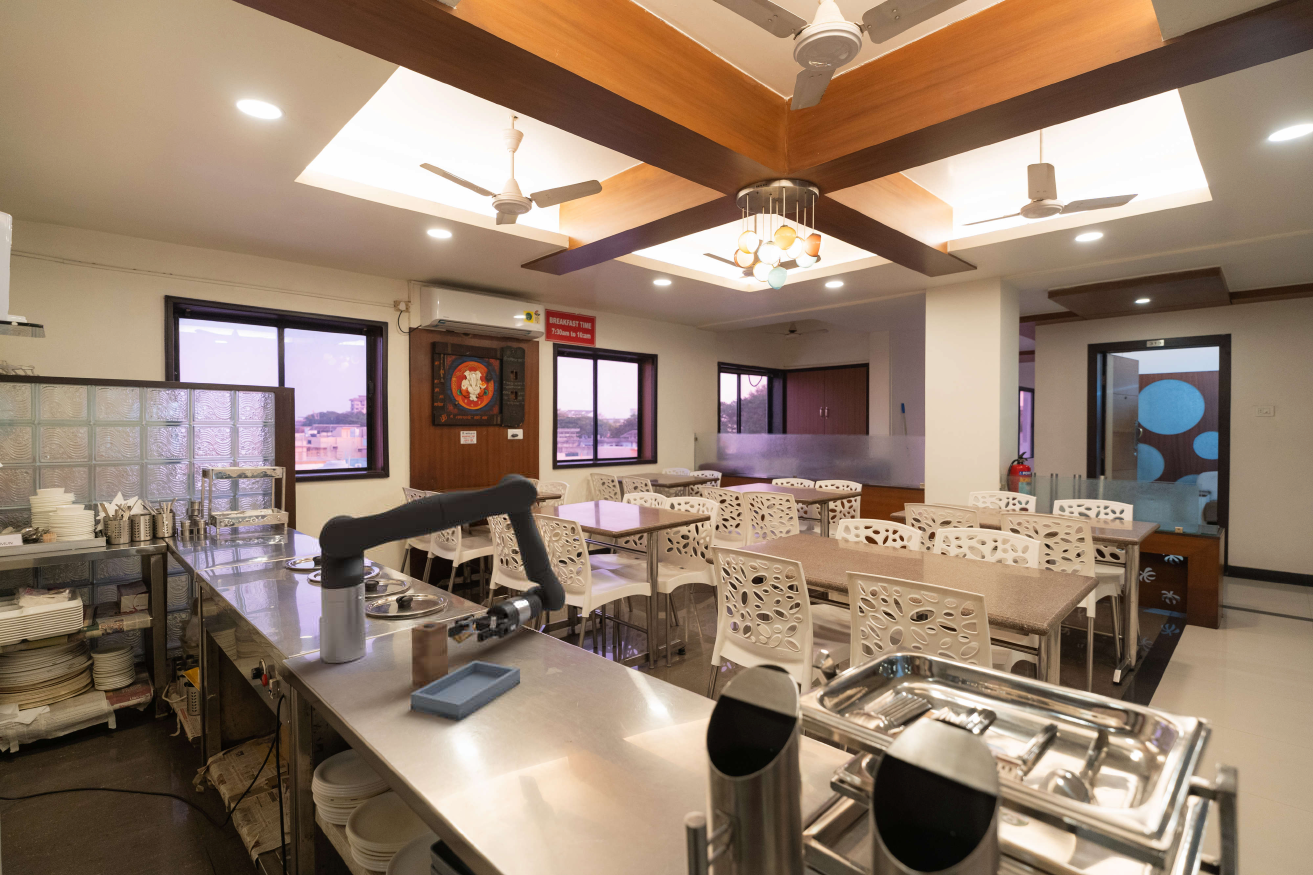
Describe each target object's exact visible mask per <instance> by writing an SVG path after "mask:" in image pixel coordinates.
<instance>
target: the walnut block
mask: <svg viewBox="0 0 1313 875" xmlns="http://www.w3.org/2000/svg"><path fill="white" fill-rule="evenodd" d="M448 647H449V646H448V623H445V622H436V621H431V620H428V621H426V622H424V623H421V624H418V625H416V626H414V627H413V626H412V627H411V662H412V664H411V665H412V666H411V668H412V675H411V676H412V677H411V678H412V685H413V686H417V687H421V688H423V687H425V686H427V685H429V684H430V683H432V682H434V681H436V680H438V679H440V678H442V677H444V676H446V675H448V674H449V664H448V663H449V661H448V660H449V657H448V656H449V654H448V652H449V651H448V650H449V649H448Z"/></svg>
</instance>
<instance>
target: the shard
mask: <svg viewBox="0 0 1313 875" xmlns="http://www.w3.org/2000/svg"><path fill="white" fill-rule="evenodd" d="M467 628H468V627H467ZM467 628H465V629H467ZM473 629H476V628H475V624H474V625H473ZM473 634H474V633H470V632H464V633H461V634H459V635H456V636H454V637H453V638H455V639H456V641H458V642H460V643H463V642H464V641H465V640H466V639H467V638H469V637H470V636H471V635H473Z"/></svg>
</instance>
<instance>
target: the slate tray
mask: <svg viewBox="0 0 1313 875" xmlns="http://www.w3.org/2000/svg"><path fill="white" fill-rule="evenodd" d="M517 684H518V685H519V684H521V669H520V668H518V667H517V668H516V667H513V666H507V665H502V664H496V663H492V662H485V661H480V660H473V661H470V662H469V663H468V664H465V665H464V666H461V667H460V668H457V669H456V670H453V671H451V672H450V673H448V675H446V676H444V677H442V678H440V679H438V680H436V681H434V682H432V683H430V684H429V685H427V686H425V687H421V688H419V689H417V690H415V691H413V692H411V693H410V710H411V711H416V712H417V711H418V712H421V713H426V714H429V715H433V716H438V717H442V718H445V719H450V720H454V721H457V722H460V721H462V720H464V719H465V718H467V717H468V716H470V715H472V714H473V713H475V712H476V711H479V710H480V709H482V707H484V706H486V705H487V704H489V703H491V702H492V701H494V700H495V699H497V698H498V696H499V697H500V696H501V694H502V695H503V694H505V693H506V692H507V691H509V689H510V690H511V689H513V688H515V687H516V686H517ZM496 697H497V698H496ZM494 698H495V699H494ZM493 699H494V700H493ZM490 701H491V702H490ZM488 702H489V703H488Z"/></svg>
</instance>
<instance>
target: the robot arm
mask: <svg viewBox="0 0 1313 875" xmlns="http://www.w3.org/2000/svg"><path fill="white" fill-rule="evenodd" d="M537 499H538V489H537V487H536V485H535V484H534V483H533V482H532V480H530V479H528V478H527V477H525V476H524V475H521V474H517V473H509V474H506V475H504V476H503V477H502V478H501V479H500V480H499V481H498V484H497V485H494V486H492V487H488V488H484V489H479V490H467V491H451V492H449V491H448V492H442V493H437V494H433V495H429V496H424V497H421V498H418V499H414V500H411V501H408V502H406V503H403V504H400V505H398V506H396V507H394V508H392V509H389V510H387V511H383V512H380V513H377V514H372V515H371V514H370V515H366V516H360V517H353V516H350V515H345V514H343V515H337V516H336V515H335V516H334V517H331V518H330V519H328V521H326V522H325V523H324V524H323V526H322V528H321V530H320V533H319V536H318V544H319V548H320V559H321V560H320V563H321V564H320V600H321V601H320V603H321V604H320V606H321V616H320V617H319V619H318V627H319V628H318V631H319V633H318V634H319V658H320V657H321V658H322V661H323V663H329V664H341V663H346V662H351V661H355V660H358V659H360V658H362V657H363V656H365V655H366V653H367V643H366V641H367V639H366V638H367V637H366V636H367V635H366V634H367V632H366V629H367V628H366V588H365V581H366V580H365V574H366V572H365V551H368V550H370V549H373V548H376V547H378V546H382V545H384V544H388V543H392V542H393V543H394V542H398V541H404V540H409V539H413V538H417V537H423V536H428V535H431V534H436V533H439V532H443V531H447V530H450V529H453V528H457V527H461V526H464V525H467V524H471V523H473V522H476V521H480V520H482V519H483V520H484V519H487V518H491V517H497V516H498V517H499V516H504V515H507V518H508V520H509V522H510V526H511V527H512V530H513V533H514V534H513V535H514V538H515V540H516V545H517V548H518V552H519V555H520V559H521V562H522V567H523V568H524V569H523V570H524V572H525V576H526V579H527V580H528V581H529V582H531V583H535V584H537V585H533V586H531V587H530V588H528V589H527V590H525V592H523V594H520V595H518V596H514V597H511V598H507V599H506V600H503V601H501V602H498V603H496V604H493V605H492V606H490V607H489V608H488V609H487V611H486V613H485V614H481V615H480V616H475V613H470V614H467V615H465V616H463V617H460V618H458V619H457V618H456V619H455V620H454V625H453V626H450V627H448V628H447V638H455V637H454V636H456V635H459V634H461V633H464V632H470V633H473V634H476V633H477V635H476V638H477V643H483V642H485V641H488V640H489V639H496V638H497V637H498V638H497V639H504V638H506V637H508V636H510V635H511V634H513V633H516V629H517V628H518V629H519V628H520V627H521V626H524V625H525V624H526V623H529V622H530V621H533V619H536V617H538V616H539V615H540V614H541V612H558V611H561V610H562V609H563V608H564V606H565V603H566V591H565V589H564V586H563V585H562V583H561V581H560V580H559V578H558V577H557V576H558V575H556V573H555V572H554V570H553V569H552V564H551V562H550V559H549V558H550V557H549V555H548V552H547V551H548V550H547V548H546V546H545V543H544V540H543V538H542V536H541V534H540V532H539V530H538V526H537V524H536V521H535V519H534V516H533V511H532V507H533V505H535V503H536V501H537ZM474 624H475V628H476V629H473V625H474ZM467 627H468V628H467ZM465 628H467V629H465Z"/></svg>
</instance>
